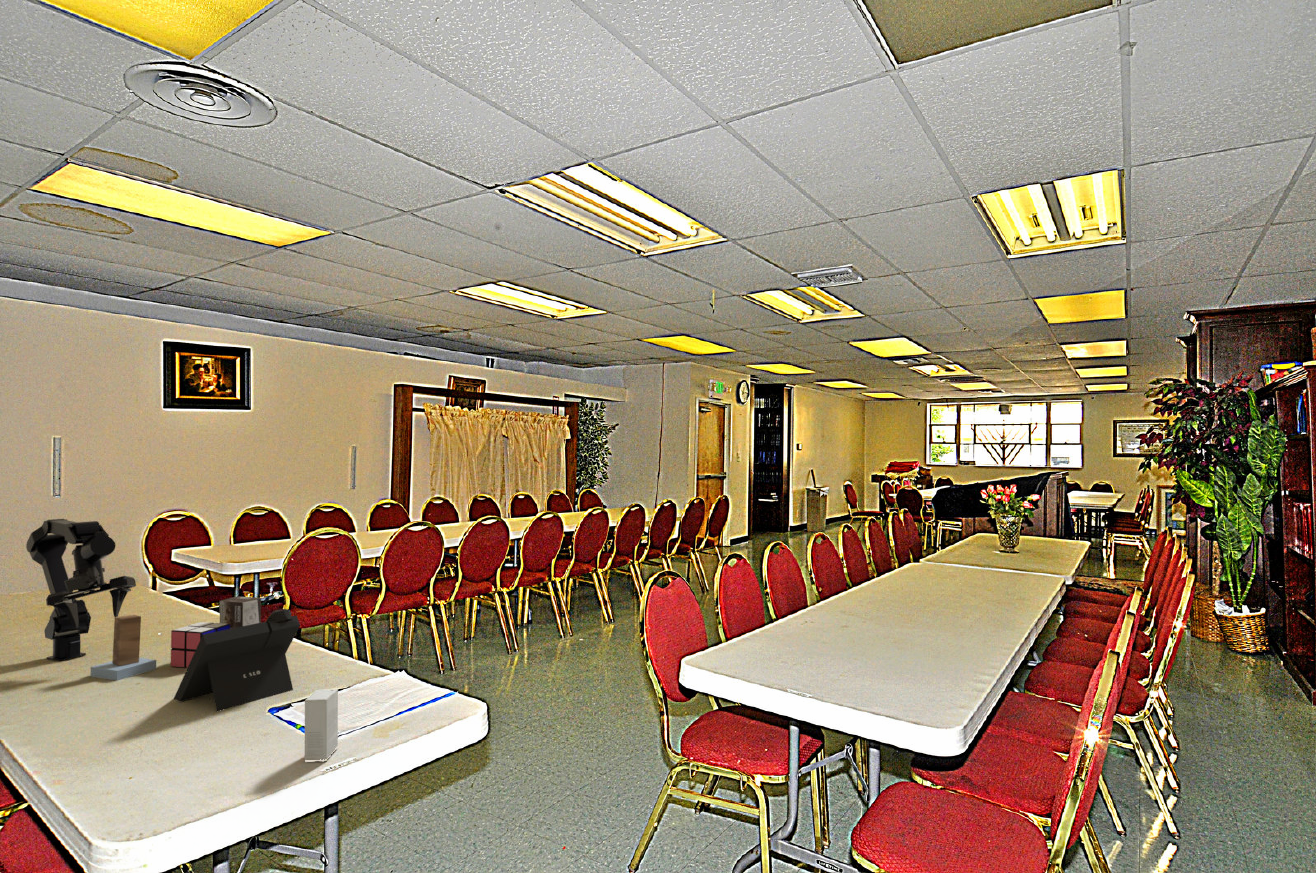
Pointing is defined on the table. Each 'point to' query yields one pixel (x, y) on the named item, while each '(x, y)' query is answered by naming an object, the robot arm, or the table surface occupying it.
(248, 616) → the coffee box
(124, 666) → the blue block
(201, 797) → the table surface
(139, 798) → the table surface
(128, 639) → the walnut post
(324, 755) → the skincare box
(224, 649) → the office phone
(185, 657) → the puzzle cube
